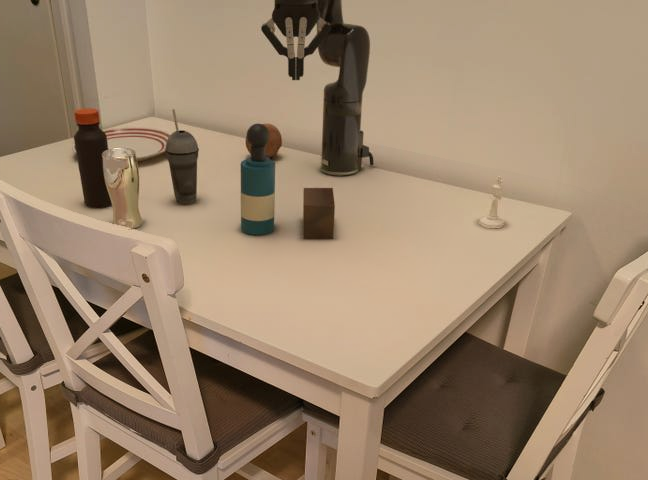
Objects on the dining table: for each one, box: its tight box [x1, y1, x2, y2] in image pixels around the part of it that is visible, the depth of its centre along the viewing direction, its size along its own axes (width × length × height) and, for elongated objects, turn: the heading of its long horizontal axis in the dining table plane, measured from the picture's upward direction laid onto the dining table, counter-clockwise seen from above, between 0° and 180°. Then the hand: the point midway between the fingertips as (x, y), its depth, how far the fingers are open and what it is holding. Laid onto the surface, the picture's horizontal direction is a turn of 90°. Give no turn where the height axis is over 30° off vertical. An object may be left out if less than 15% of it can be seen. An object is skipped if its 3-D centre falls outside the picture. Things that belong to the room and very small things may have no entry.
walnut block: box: [302, 187, 336, 240], centre depth 139 cm, size 6×10×7 cm, turn 178°
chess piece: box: [478, 175, 505, 229], centre depth 139 cm, size 5×5×10 cm
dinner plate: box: [71, 126, 172, 163], centre depth 184 cm, size 28×27×3 cm
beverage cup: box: [164, 108, 200, 206], centre depth 149 cm, size 7×7×20 cm
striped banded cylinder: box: [240, 123, 276, 236], centre depth 136 cm, size 17×7×19 cm
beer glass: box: [102, 148, 143, 230], centre depth 139 cm, size 7×7×15 cm
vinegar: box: [73, 107, 112, 209], centre depth 148 cm, size 7×7×20 cm
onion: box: [245, 123, 283, 159], centre depth 179 cm, size 10×9×10 cm
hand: (295, 79), depth 127 cm, fingers closed
